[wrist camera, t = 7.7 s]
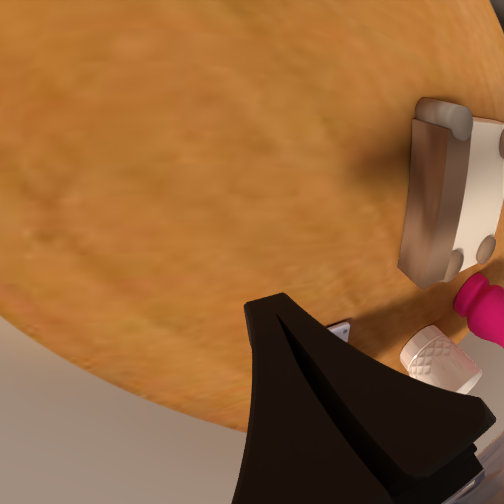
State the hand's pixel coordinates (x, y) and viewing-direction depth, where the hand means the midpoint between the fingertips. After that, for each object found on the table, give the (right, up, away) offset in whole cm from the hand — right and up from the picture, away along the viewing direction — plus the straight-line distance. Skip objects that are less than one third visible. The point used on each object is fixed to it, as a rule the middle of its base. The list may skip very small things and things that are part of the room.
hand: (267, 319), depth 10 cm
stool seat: (+20, +8, +13) cm, 25 cm away
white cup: (+22, -10, +25) cm, 35 cm away
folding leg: (+13, +7, +11) cm, 19 cm away
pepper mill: (+29, -3, +23) cm, 37 cm away
